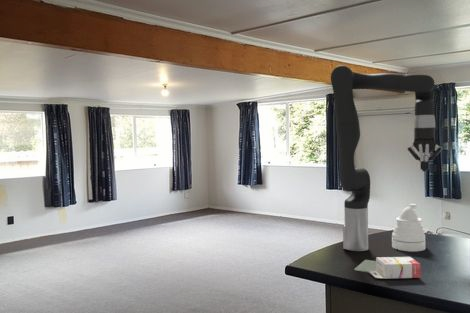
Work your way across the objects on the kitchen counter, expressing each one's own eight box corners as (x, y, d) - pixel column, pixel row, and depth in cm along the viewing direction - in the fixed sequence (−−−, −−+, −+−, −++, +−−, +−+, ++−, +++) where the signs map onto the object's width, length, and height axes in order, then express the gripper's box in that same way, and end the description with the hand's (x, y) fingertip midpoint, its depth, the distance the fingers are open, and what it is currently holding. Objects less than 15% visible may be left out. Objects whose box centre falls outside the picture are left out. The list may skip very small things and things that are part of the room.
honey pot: (428, 245, 184) (427, 202, 183) (422, 252, 173) (422, 207, 173) (395, 242, 191) (395, 200, 190) (388, 249, 180) (388, 205, 179)
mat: (354, 270, 153) (354, 269, 153) (365, 260, 164) (365, 259, 164) (402, 277, 145) (402, 275, 145) (410, 266, 156) (410, 265, 156)
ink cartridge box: (421, 262, 142) (375, 264, 142) (421, 278, 142) (375, 279, 142) (409, 255, 151) (366, 257, 150) (409, 270, 151) (367, 271, 150)
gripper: (404, 127, 173) (405, 171, 174) (441, 126, 166) (441, 172, 167) (408, 127, 180) (408, 170, 180) (444, 126, 172) (444, 170, 173)
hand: (424, 171), depth 174 cm, fingers closed
